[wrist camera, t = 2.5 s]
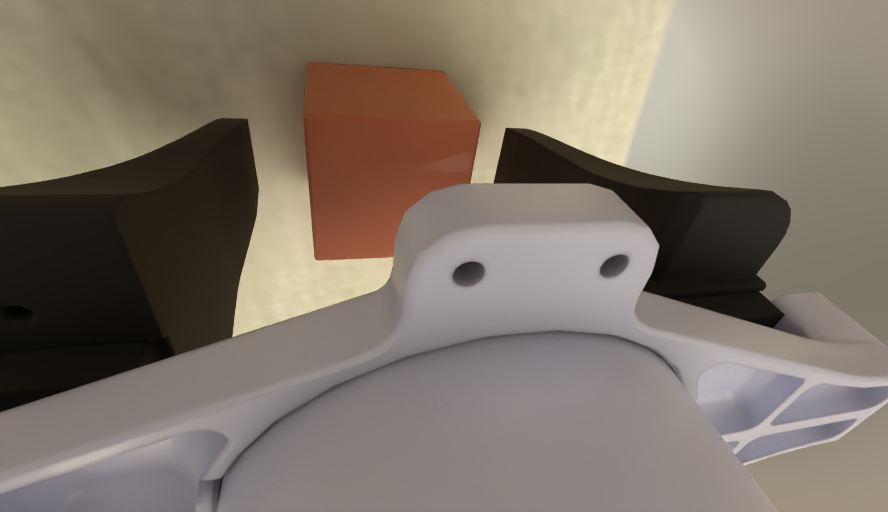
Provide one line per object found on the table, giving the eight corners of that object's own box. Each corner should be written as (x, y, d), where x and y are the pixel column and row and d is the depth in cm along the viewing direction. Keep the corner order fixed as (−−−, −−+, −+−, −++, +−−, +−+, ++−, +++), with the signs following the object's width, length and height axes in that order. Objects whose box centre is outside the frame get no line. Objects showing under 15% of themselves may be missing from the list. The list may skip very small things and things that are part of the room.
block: (430, 186, 15) (458, 255, 12) (315, 186, 14) (314, 261, 11) (444, 70, 13) (482, 122, 10) (306, 61, 12) (303, 115, 9)
